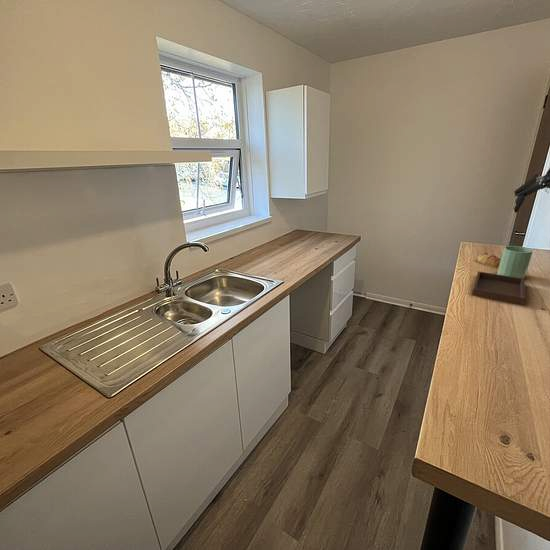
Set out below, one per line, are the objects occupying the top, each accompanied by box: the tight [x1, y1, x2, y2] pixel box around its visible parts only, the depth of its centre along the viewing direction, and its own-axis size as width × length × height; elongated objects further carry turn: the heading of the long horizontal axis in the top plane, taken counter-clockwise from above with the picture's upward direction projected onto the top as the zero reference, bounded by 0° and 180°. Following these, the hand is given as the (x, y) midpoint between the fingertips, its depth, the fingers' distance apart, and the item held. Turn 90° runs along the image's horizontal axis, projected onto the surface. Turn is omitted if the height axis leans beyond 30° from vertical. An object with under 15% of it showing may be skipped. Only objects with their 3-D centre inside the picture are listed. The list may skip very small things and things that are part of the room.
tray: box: [471, 271, 527, 306], centre depth 102 cm, size 18×14×3 cm
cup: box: [496, 245, 534, 280], centre depth 110 cm, size 8×8×11 cm
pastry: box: [476, 252, 501, 268], centre depth 124 cm, size 9×7×4 cm
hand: (537, 212), depth 109 cm, fingers open, 13 cm apart
